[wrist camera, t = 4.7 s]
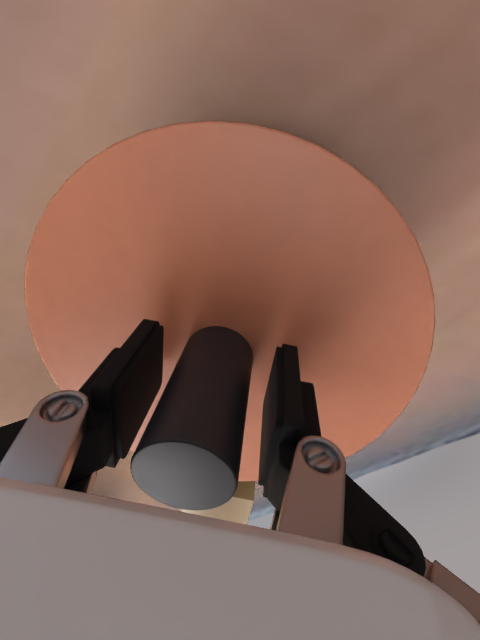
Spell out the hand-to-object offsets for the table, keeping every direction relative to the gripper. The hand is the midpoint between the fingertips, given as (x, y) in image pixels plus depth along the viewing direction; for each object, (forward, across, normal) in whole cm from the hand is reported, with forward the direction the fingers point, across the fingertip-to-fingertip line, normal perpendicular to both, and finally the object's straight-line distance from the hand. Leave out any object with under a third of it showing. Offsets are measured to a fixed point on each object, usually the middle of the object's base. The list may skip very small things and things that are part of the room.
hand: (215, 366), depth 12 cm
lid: (+1, 0, 0) cm, 1 cm away
